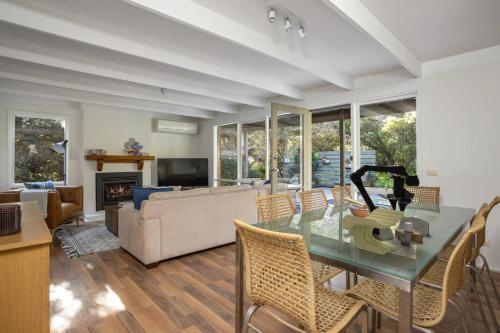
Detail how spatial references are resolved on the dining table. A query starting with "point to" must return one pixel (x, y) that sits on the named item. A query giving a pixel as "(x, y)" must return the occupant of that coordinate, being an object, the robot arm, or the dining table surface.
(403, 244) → the cylinder
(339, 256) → the dining table surface
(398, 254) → the dining table surface
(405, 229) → the square bit
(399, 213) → the slatted curved stool
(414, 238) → the socket block
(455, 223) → the dining table surface
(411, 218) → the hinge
